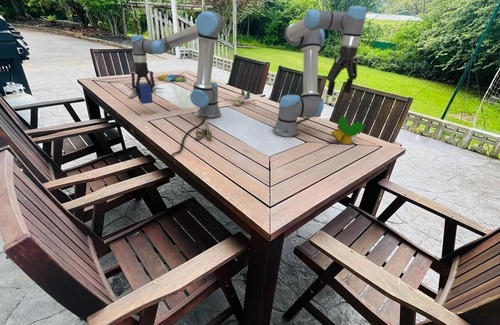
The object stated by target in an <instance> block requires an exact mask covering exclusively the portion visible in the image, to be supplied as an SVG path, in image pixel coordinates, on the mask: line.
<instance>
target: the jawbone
mask: <svg viewBox="0 0 500 325" xmlns="http://www.w3.org/2000/svg"><path fill="white" fill-rule="evenodd" d="M195 129H196V131H195V139H196V140H199V141H200V139H201V138H203V137H205V136H206V137H207V139H208V141H212V137H213V134H212V130H213V129H211V130H210V127H209V119H205V120H204V126H202V127H201V130H199V129H198V127H196V128H195Z"/></svg>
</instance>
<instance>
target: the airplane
mask: <svg viewBox="0 0 500 325" xmlns="http://www.w3.org/2000/svg"><path fill="white" fill-rule="evenodd" d="M149 81H150V83H151V85H152V82H151V78H150V77H149ZM128 86H129V87H131V90H133V92H131V93H130V94H129V95H128V97H127V99H132V98H135V97H137V96H138V94H136V90H134V88H132V84H128ZM156 86H160V83H159V84H158V83H155V87H153V93H154V92H155V91H157V90H163V89H164V87H156Z"/></svg>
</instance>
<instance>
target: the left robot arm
mask: <svg viewBox="0 0 500 325" xmlns="http://www.w3.org/2000/svg"><path fill="white" fill-rule="evenodd" d="M224 28H225V21H224V17H223V16H222V14H220V13H219V12H217V11H211V10H205V11H202V12H200V13H199V14H198V16H197V17H196V20H195V24H193V25H191V26H189V27H187V28H184V29H182V30H179V31H176V32H174V33H172V34H170V35H168V36H165V37H162V38H160V39H145V37H144V35H141V34H132V35H131V36H130V42H131V48H132V55H133V56H132V57H133V62H134V71H131V72H130V75H131V85H132V86H131V89H132V88H134V89H135V90H136V94H138V95H137V98H138V100H139V99H141V98H140V91H139V89H138V86H139V83H141V79H142V78H145V80H146V83H148V84H150V85H151V83H150V81H149V80H150V78H151V82H152V85H151V94H152V93H154V92H153V90H154V89H153V87H155V88H156V85H155V84H156V83H155V79H154V71H152V70H149V68H148V67H149V66H148V63H147V62H148V60H147V54H154V55H163V54H164V53H167V52H170V51H171V50H173V49H175V48H177V47H181V46H182V45H185V44H188V43H189V42H192V41H195V40H197V39H199V46H198V47H199V48H198V49H199V50H198V59H197V62H198V63H197V71H196V81H195V82H194V83H193V87H192V91H191V92H190V96H189V97H190V99H189V100H190V101H191V103H192V105H194V106H195V107H197V108H199V109H198V116H199V117H201V118H203V119H202V122H201V123H200V124H198V125H196V126H193V127H192V128H191V129H189V130H188V131H186V133H185V134H184V135H183V138H182V141H181V145H180V149H179V150H178V151H174V152H172V153H171V154H170V156H169V159H172V157H173V156H174V155H176V154H179V153H181V152H182V151H183V147H184V142H185V139H186V137H187V136H188V135H189V133H191V132H192V131H193V130H195V129H196V128H198V127H200V126H201V125H203V123H205V120H206V119H214V118H219V117H221V110H220V108H219V102H218V99H219V98H218V97H219V87H218V83H217V82H216V81H212V73H213V72H212V71H213V64H214V54H215V45H216V42H218V40H219V35H220V33H222V31H223V30H224ZM136 75H137V76H136ZM148 75H149V76H148ZM134 89H133V90H134ZM135 90H134V91H135ZM152 95H153V94H152Z"/></svg>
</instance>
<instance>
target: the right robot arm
mask: <svg viewBox="0 0 500 325" xmlns="http://www.w3.org/2000/svg"><path fill="white" fill-rule="evenodd" d="M367 12H368V8H367V7H366V6H359V5H350V6H349V7H348V10H347V11H339V10H325V9H317V8H314V9H313V8H311V9H307V11H306V12H305V14H304V16H303V17H304V18H302V19H301V20H299V21H297V22H293V23H291V24H289V25H288V26H287V27H286V28H285V30H284V38H285V40H286V42H287V43H288V44H289V45H291V46H294V47H300V51H301V53H302V54H303V56H302V58H303V59H302V60H303V63H302V64H303V70H302V72H303V74H302V75H303V76H302V81H303V82H302V93H301V94H300V95H298V94H286V95H283V96H282V97H280V100H279V105H278V115H277V121H276V123H275V125H274V127H273V133H274V134H275V135H278V136H279V137H285V138H292V137H296V136H297V135H298V132H299V129H298V124H299V123H301V122H303V121H306V120H308V119H309V118H317V117H320V115H321V114H322V112H323V110H324V105H325V104H324V98H322V97H321V94H320V93H319V92H318V84H319V83H318V80H319V79H318V76H319V52H320V50H321V48H322V47H323V45H324V44H325V36H326V34H325V31H324V30H332V31H343V32H342V33H343V34H342V39H341V43H340V47H339V52H338V55H339V56H340V57H335V58H334V62H333V64H332V66H331V68H330V70H329V72H328V74H327V76H326V77H325V78H326V79H325V80H327V81H328V84H327V92H326V95H327V96H330V97H332V96H333V94H334V89H335V85H336V79H337V78H338V77H339V75H340V74H341V72H342V71H344V69H345V70H346V72H347V76H348V77H347V79H346V83H345V87H344V93H347V94H350V93H351V89H352V85H353V82H354V80H356V79H357V77H358V57H356V56H357V53H358V50H359V49H358V47H359V46H360V42H361V37H362V33H363V29H364V25H365V22H366V18H367V17H366V16H367ZM298 118H303V119H300V120H297V119H298Z"/></svg>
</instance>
